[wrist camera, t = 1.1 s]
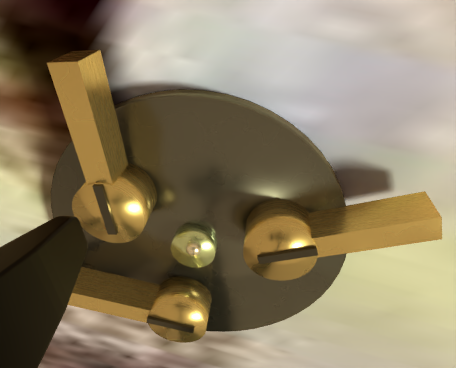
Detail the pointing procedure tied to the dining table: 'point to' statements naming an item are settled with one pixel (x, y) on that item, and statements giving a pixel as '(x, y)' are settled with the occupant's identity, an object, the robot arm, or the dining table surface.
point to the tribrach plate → (211, 200)
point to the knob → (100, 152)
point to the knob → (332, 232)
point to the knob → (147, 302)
